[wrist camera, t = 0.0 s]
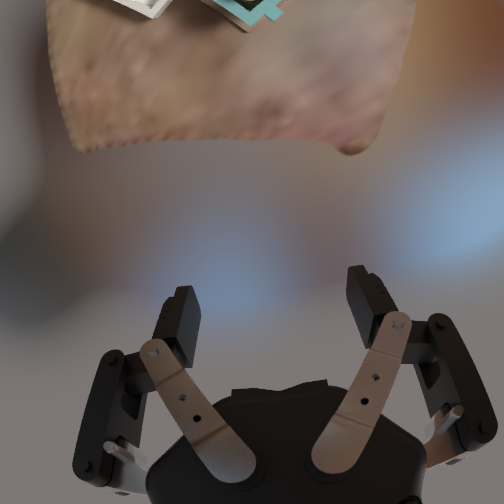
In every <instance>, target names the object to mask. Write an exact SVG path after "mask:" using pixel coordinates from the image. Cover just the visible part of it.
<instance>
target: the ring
mask: <svg viewBox="0 0 504 504" xmlns="http://www.w3.org/2000/svg"><path fill="white" fill-rule="evenodd" d="M213 1H215V2H216V3H218V4H219V5H221V6H222V7H224V8H225V9H227V10H228V11H230V12H231V13H233V14H234V15H235V16H237V17H238V18H240V19H241V20H242V21H244V22H245V23H247V24H248V25H249V26H252V25H253V24H254V23H255V22H256V21H258V20H259V19H260V18H261V17H262V16H263V15H265V16H266V17H268V18H269V19H270V20H271V21H275V20H276V19H277V18H278V17H279V16H281V15H282V14H283V12H282V11H281V10H280V9H279V8H277V7H276V6H275V5H277V4H278V3H279V2H280V1H282V0H262V1H261V2H259V3H258V4H257V5H256V6H255V7H254V8H252V9H251V10H250V11H248V10H246V9H245V8H244V7H242V6H241V5H239V4H238V3H237V2H235V1H234V0H213Z"/></svg>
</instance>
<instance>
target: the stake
mask: <svg viewBox="0 0 504 504" xmlns="http://www.w3.org/2000/svg"><path fill="white" fill-rule="evenodd" d="M200 1H202V2H204V3H205V4H207V5H209V6H210V7H212V8H213V9H215V10H216V11H218V12H220V13H221V14H223V15H224V16H225V17H227V18H228V19H230V20H231V21H233V22H234V23H236V24H237V25H238V26H240V27H241V28H242V29H244V30H245V31H246V32H248V33H249V32H250V31H251V30H252V29H254V28H255V27H256V26H257V25H258V24H259V23H260V22H261V21H263V20H264V19H265V18H266V16H265V15H263V16H262V17H261V18H260V19H259V20H258V21H256V22H255V23H254V24H253V25H252V26H249V25H248V24H247V23H245V22H244V21H242V20H241V19H240V18H238V17H237V16H235V15H234V14H233V13H231V12H230V11H228V10H227V9H225V8H224V7H222V6H221V5H219V4H218V3H216V2H215V1H213V0H200ZM234 1H235V2H237V3H238V4H239V5H241V6H242V7H244V8H245V9H246V10H248V11H250V10H251V9H252V8H254V7H255V6H256V5H257V4H258V3H259V2H261V1H262V0H234ZM286 1H287V0H282V1H280V2H279V3H278V4H277V5H275V6H276V7H277V8H278V7H279V6H281V5H282V4H283V3H284V2H286Z"/></svg>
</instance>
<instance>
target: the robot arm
mask: <svg viewBox="0 0 504 504" xmlns="http://www.w3.org/2000/svg"><path fill="white" fill-rule="evenodd" d="M346 296H347V301H348V304H349V306H350V308H351V311H352V314H353V316H354V319H355V322H356V324H357V327H358V329H359V332H360V335H361V338H362V340H363V343H364V346H365V348H366V349H368V348H370V349H369V351H368V353H367V355H366V357H365V359H364V361H363V363H362V365H361V367H360V369H359V371H358V373H357V375H356V377H355V379H354V381H353V383H352V385H351V386H350V388H349V390H346V389H343V388H340V387H337V386H328V383H327V379H326V380H319V381H312V382H306V383H302V384H299V385H296V386H294V387H291V388H288V389H285V390H282V391H273V390H265V389H258V388H248V389H232V393H231V396H229V397H226V398H224V399H222V400H220V401H218V402H216V403H215V404H213V405H211V404H210V402H209V401H208V400H207V399H206V397H205V396H204V395H203V393H202V392H201V391H200V390H199V388H198V387H197V386H196V384H195V383H194V382H193V380H192V379H191V377H190V376H189V375H188V373H187V372H186V371H185V368H192V366H193V360H194V353H195V348H196V342H197V336H198V331H199V325H200V320H201V311H200V306H199V303H198V300H197V298H196V295H195V292H194V289H193V287H192V286H191V285H190V286H179V287H177V288H176V291H175V294H174V297H169V298H168V299H167V300H166V301H165V303H164V304H163V306H162V309H161V313H160V315H159V319H158V321H157V324H156V327H155V330H154V333H153V336H152V339H151V340H149V341H147V342H146V343H144V344H143V345H142V347H141V349H140V351H139V352H136V353H133V354H129V355H124V354H123V353H122V351H120V350H116V349H115V350H110V351H108V352H107V353H105V354H104V355H103V357H102V358H101V360H100V363H99V366H98V369H97V372H96V375H95V379H94V382H93V384H92V388H91V391H90V394H89V398H88V401H87V404H86V408H85V412H84V416H83V419H82V423H81V427H80V431H79V435H78V439H77V443H76V448H75V453H74V457H73V463H72V467H73V471H74V473H75V475H76V476H77V477H78V478H79V479H81V480H83V481H85V482H87V483H90V484H92V485H93V486H95V487H98V488H100V489H103V490H105V491H108V492H112V493H116V494H119V495H123V496H125V495H129V494H135V495H140V496H145V497H149V499H150V501H151V503H152V504H422V499H421V490H422V483H423V479H424V475H425V472H426V471H427V470H430V469H432V468H435V467H437V466H440V465H442V464H448V465H452V464H455V463H457V462H459V461H461V460H462V459H464V458H466V457H467V456H469V455H470V454H472V453H473V452H475V451H476V450H478V449H480V448H481V447H483V446H484V445H486V444H487V443H488V442H490V441H491V440H492V439H493V438H494V437H495V435H496V433H497V429H498V422H497V419H496V416H495V413H494V410H493V408H492V405H491V402H490V400H489V397H488V394H487V392H486V389H485V387H484V385H483V382H482V380H481V378H480V375H479V373H478V371H477V369H476V366H475V364H474V362H473V360H472V358H471V356H470V354H469V352H468V350H467V348H466V346H465V344H464V342H463V340H462V338H461V336H460V334H459V332H458V331H457V329H456V327H455V325H454V324H453V322H452V320H451V319H450V318H449V317H448V316H447V315H444V314H441V313H435V314H433V315H431V316H430V317H429V319H428V321H413V320H411V319H410V317H409V316H408V315H407V314H405V313H403V312H399V310H398V308H397V307H396V305H395V303H394V301H393V299H392V298H391V296H390V294H389V292H388V291H387V289H386V287H384V284H383V282H382V280H381V279H380V278H379V277H378V276H376V275H375V274H374V273H370V274H368V273H367V271H366V270H365V267H364V266H363V265H357V266H351V267H349V268H348V274H347V286H346ZM400 364H413V366H414V368H415V371H416V374H417V377H418V380H419V383H420V386H421V389H422V392H423V395H424V398H425V401H426V404H427V407H428V411H429V415H430V418H431V419H430V420H429V421H428V422H427V424H426V426H425V431H424V432H425V439H424V443H423V444H422V443H421V442H420V440H419V439H417V438H416V437H414V436H413V435H411V434H410V433H408V432H407V431H405V430H404V429H403V428H401V427H400V426H398V425H397V424H395V423H394V422H392V421H391V420H390V419H388V418H387V417H385V416H384V415H383V414H381V412H382V409H383V407H384V405H385V402H386V400H387V398H388V395H389V393H390V391H391V388H392V386H393V383H394V380H395V378H396V375H397V373H398V370H399V367H400ZM156 390H157V392H158V393H159V395H160V397H161V398H162V400H163V402H164V404H165V405H166V407H167V409H168V410H169V412H170V414H171V415H172V416H173V418H174V420H175V421H176V423H177V425H178V426H179V428H180V429H181V431H182V432H183V434H184V435H183V436H182V437H181V438H180V439H179V440H178V441H177V442H175V444H173V445H172V447H170V448H169V449H168V450H167V451H166V452H165V453H164V454H163V455H162V456H161V457H160V458H159V459H158V460H157V461H156V462H155V463H154V464H153V465H152V466H151V467H150V469H149V470H148V468H147V465H146V457H145V455H144V453H143V452H142V451H141V450H140V449H139V445H140V438H141V431H142V424H143V418H144V411H145V405H146V399H147V394H148V392H152V391H156Z"/></svg>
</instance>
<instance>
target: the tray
mask: <svg viewBox="0 0 504 504" xmlns="http://www.w3.org/2000/svg"><path fill="white" fill-rule="evenodd" d="M114 1H116V2H119V3H121V4H123V5H125V6H127V7H130V8H132V9H134V10H136V11H138V12H140V13H142V14H144V15H146V16H148V17H150V18H152V19H154V18H159V16H160V15H161V14H162V13H163V12H164V10H165V9H166V8H167V7H168V6H169V5H170V3H171V2H172V1H173V0H114Z"/></svg>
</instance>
